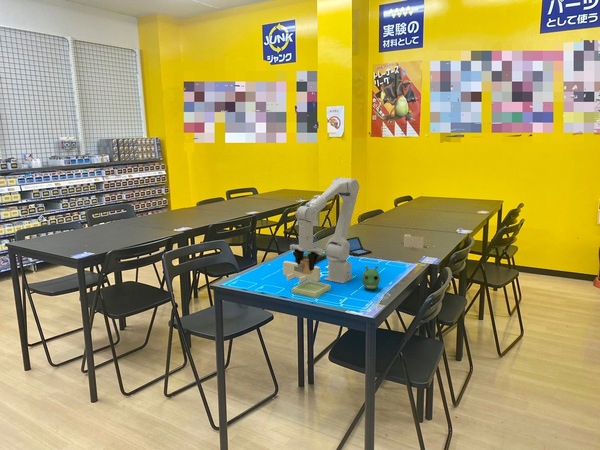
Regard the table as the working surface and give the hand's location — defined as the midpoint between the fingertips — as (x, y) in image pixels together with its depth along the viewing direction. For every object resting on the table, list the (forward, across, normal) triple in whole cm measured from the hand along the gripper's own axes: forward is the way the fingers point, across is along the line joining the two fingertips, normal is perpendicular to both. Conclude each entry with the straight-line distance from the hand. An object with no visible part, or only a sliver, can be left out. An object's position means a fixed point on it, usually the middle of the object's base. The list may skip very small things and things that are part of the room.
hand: (306, 269), depth 181 cm
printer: (+8, -10, +10) cm, 16 cm away
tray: (+8, +3, -1) cm, 9 cm away
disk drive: (+9, -21, +37) cm, 44 cm away
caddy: (+1, 0, -1) cm, 2 cm away
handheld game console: (+9, -9, +63) cm, 64 cm away
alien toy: (+9, +22, +14) cm, 28 cm away
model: (+9, +12, +92) cm, 93 cm away
